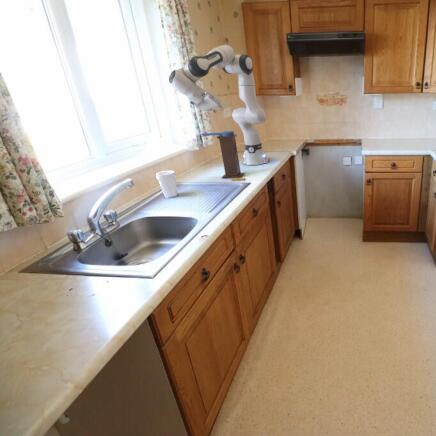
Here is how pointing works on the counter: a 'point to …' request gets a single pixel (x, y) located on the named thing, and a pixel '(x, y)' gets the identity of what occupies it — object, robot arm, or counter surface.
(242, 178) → the fry
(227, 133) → the spoon
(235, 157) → the spoon stand
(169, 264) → the counter surface
